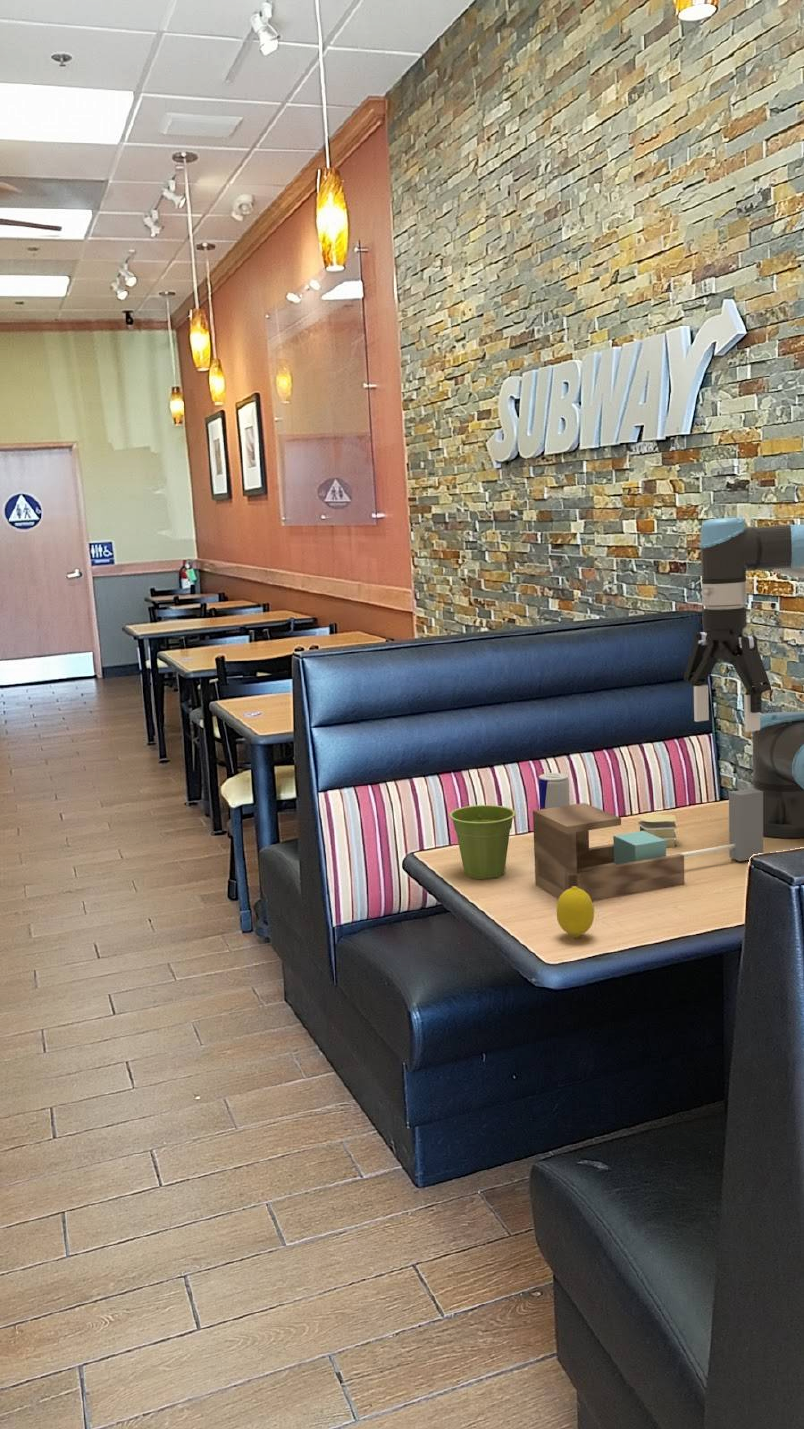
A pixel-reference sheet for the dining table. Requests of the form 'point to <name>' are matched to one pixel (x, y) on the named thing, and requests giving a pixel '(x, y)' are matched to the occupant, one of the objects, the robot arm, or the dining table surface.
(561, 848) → the walnut shelf
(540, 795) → the beverage can
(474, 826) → the plant pot
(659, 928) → the dining table surface
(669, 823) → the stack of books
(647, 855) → the pull block
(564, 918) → the lemon
